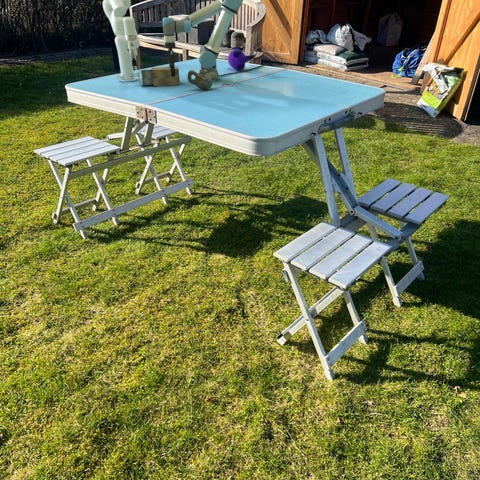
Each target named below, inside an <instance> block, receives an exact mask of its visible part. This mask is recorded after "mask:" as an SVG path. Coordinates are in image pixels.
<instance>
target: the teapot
mask: <svg viewBox="0 0 480 480" xmlns="http://www.w3.org/2000/svg"><path fill="white" fill-rule="evenodd" d="M192 76H194V77H195V78H192ZM217 79H218V76H217V74H216V73H214V72H210V73H207V70H206V69H205V67H203V66H202V69H201V68H200V69H199V72H197V71H195V70H191V69H190V70H189V71H188V72H187V81H188V83H189V84H190V85H193V86H195V87H197V88H198V89H200V90H203V91H204V90H205V91H206V90H209V89H212V86H213V83H214V82H216V81H218V80H217Z"/></svg>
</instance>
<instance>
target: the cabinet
mask: <svg viewBox="0 0 480 480" xmlns="http://www.w3.org/2000/svg"><path fill="white" fill-rule="evenodd" d="M174 67H175V76H173V77H171V67H169V66H157V67H151V70H152V72H153V82H154V84H153V87H166V86H167V87H169V86H170V87H171V86H180V85H181V83H180V82H181V81H180V68H179V66H174Z"/></svg>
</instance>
